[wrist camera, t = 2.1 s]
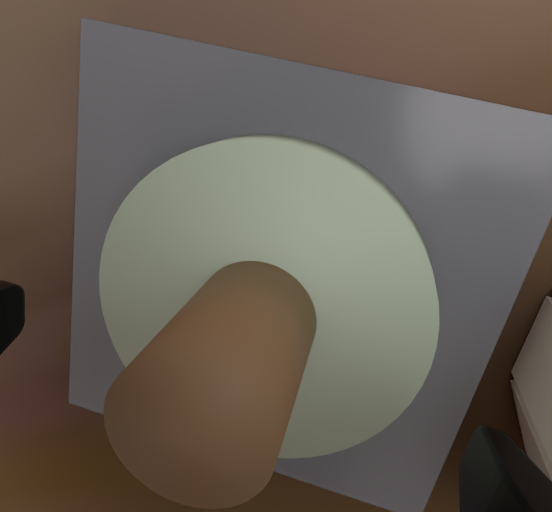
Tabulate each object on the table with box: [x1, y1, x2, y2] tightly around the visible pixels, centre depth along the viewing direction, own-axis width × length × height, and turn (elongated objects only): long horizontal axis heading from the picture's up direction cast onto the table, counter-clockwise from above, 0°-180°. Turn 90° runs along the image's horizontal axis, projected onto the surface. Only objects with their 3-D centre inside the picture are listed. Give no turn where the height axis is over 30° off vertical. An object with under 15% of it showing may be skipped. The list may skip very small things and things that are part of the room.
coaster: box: [69, 17, 552, 512], centre depth 12 cm, size 11×11×1 cm
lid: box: [99, 134, 440, 509], centre depth 9 cm, size 8×8×5 cm
